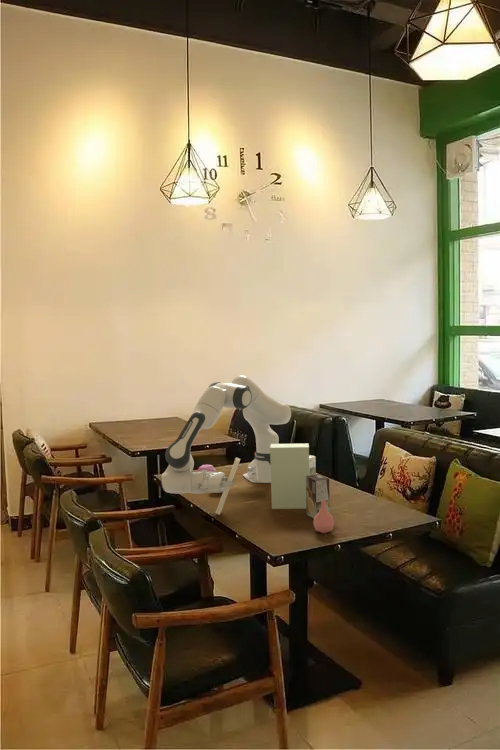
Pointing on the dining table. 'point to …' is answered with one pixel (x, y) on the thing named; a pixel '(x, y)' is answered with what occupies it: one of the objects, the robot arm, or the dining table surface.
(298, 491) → the shelf block
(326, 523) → the pink vase
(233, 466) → the domino bar
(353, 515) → the dining table surface
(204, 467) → the cupcake
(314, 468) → the syrup box
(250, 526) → the dining table surface
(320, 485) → the coffee box
